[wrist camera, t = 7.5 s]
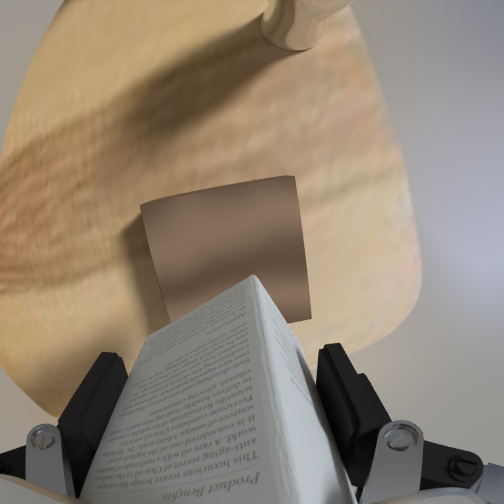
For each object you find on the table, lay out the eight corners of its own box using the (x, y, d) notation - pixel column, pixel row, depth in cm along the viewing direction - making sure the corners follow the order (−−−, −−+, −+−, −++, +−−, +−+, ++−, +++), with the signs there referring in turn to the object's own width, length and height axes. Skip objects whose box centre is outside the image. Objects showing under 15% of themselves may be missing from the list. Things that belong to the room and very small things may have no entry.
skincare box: (200, 392, 14) (176, 615, 2) (146, 333, 13) (45, 577, 1) (304, 340, 13) (393, 597, 2) (257, 268, 12) (322, 631, 1)
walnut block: (156, 198, 26) (139, 205, 21) (284, 175, 26) (294, 176, 21) (184, 314, 29) (176, 340, 24) (300, 295, 29) (311, 318, 24)
